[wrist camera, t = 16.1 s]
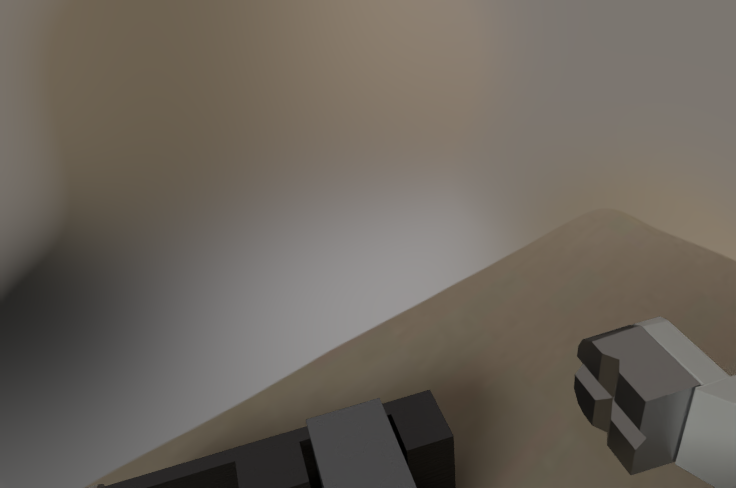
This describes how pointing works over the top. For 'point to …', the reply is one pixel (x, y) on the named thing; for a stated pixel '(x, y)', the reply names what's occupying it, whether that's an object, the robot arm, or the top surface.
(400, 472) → the block
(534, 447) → the top surface
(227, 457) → the rack rail
